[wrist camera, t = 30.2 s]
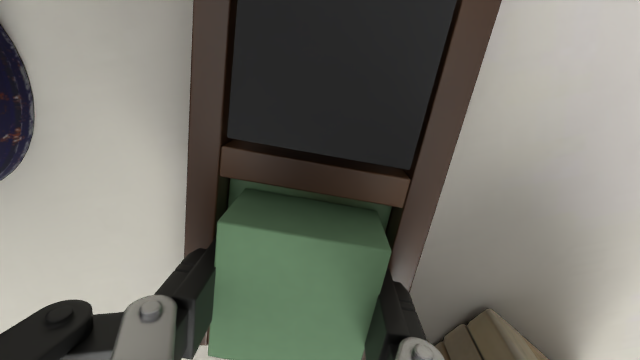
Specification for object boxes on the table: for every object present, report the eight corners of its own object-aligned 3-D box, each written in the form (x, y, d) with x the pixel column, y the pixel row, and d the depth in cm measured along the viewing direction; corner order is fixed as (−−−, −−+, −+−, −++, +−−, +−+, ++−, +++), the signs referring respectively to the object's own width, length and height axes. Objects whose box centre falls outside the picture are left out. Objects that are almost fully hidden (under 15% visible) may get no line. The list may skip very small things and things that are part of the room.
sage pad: (377, 210, 12) (392, 251, 9) (350, 317, 14) (356, 381, 11) (245, 187, 12) (216, 221, 9) (233, 297, 14) (207, 356, 11)
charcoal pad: (429, -8, 10) (470, -47, 7) (390, 149, 12) (410, 170, 9) (269, -38, 10) (243, -90, 7) (252, 124, 12) (225, 138, 9)
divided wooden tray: (492, -55, 10) (530, -88, 8) (376, 338, 16) (383, 375, 14) (224, -106, 10) (197, -153, 8) (199, 309, 16) (180, 342, 14)
